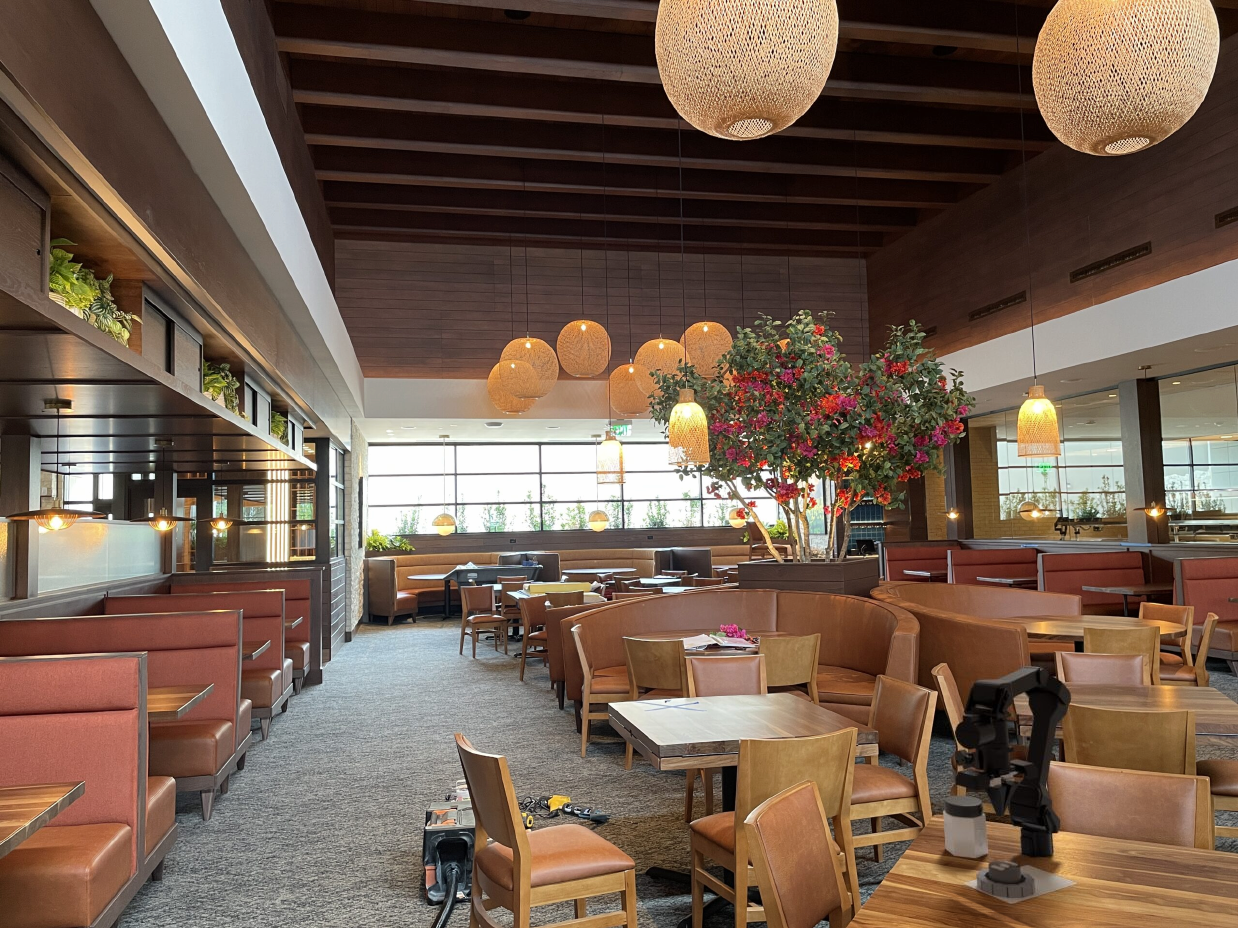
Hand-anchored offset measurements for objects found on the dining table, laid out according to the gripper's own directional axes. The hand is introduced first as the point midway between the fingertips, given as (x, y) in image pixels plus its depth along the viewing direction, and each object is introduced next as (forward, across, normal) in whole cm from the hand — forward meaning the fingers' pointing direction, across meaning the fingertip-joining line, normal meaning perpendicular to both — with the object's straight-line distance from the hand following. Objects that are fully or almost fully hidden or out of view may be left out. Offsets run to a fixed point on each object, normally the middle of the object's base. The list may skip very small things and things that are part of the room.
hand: (1000, 815), depth 191 cm
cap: (+11, +8, +7) cm, 15 cm away
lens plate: (+12, +4, +7) cm, 14 cm away
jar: (+12, -2, -12) cm, 17 cm away
